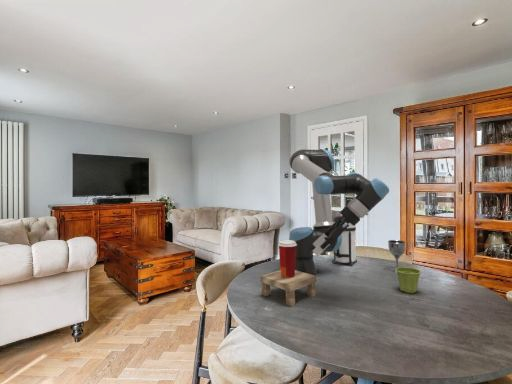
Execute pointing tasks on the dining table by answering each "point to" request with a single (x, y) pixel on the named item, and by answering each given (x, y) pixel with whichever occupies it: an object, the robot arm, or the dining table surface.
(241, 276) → the dining table surface
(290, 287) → the wooden step stool
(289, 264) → the paper cup
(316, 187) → the robot arm
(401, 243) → the wine glass
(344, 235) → the coffee press
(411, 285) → the plant pot
